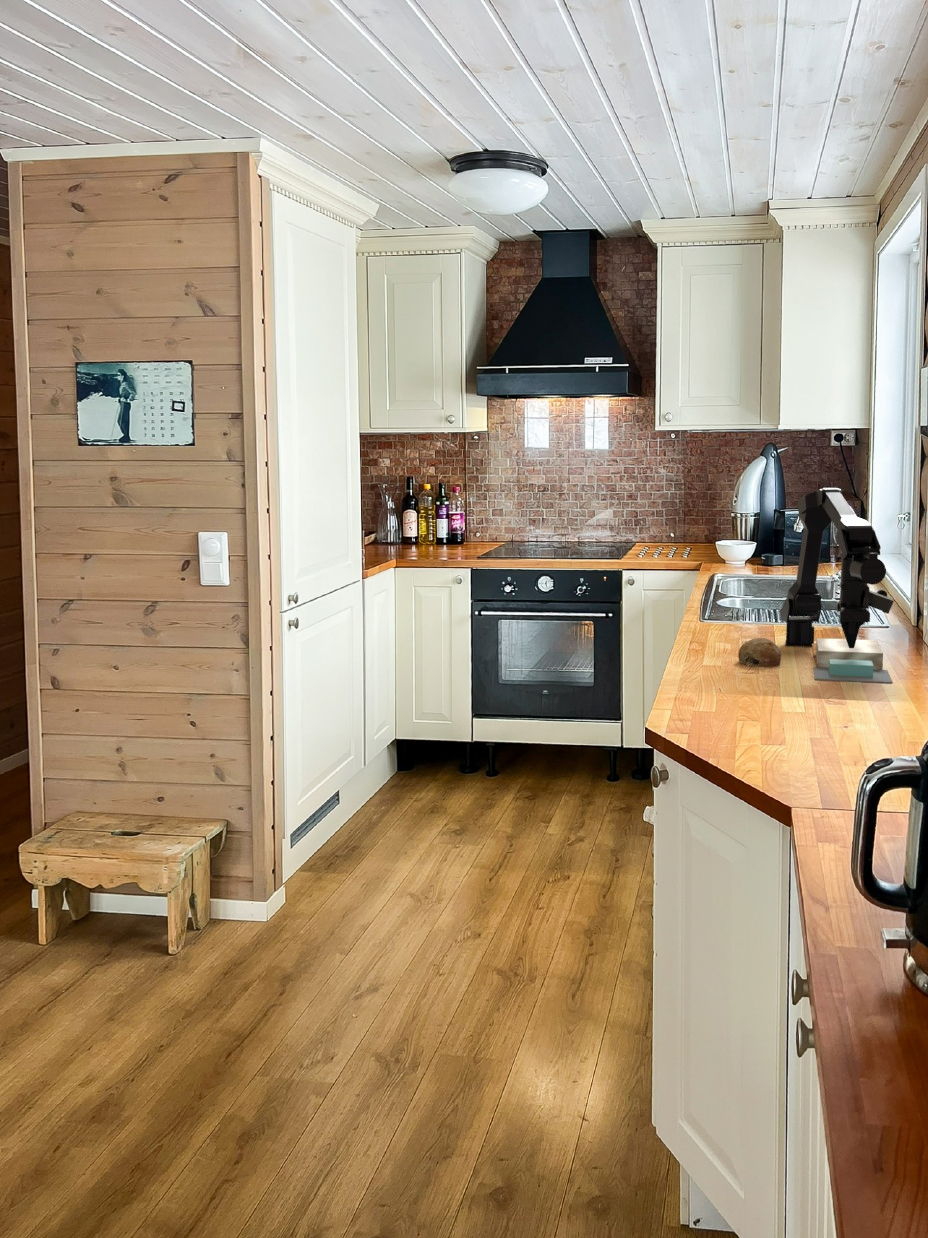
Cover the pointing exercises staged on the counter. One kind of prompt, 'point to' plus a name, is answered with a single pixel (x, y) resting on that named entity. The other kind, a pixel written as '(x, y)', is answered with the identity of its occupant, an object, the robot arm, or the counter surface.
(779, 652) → the brown rounded dome
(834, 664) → the teal rectangular block
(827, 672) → the mat
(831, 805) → the counter surface
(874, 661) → the board
